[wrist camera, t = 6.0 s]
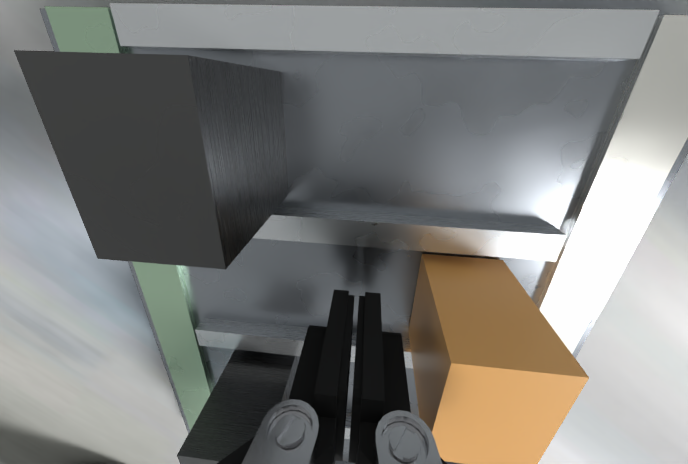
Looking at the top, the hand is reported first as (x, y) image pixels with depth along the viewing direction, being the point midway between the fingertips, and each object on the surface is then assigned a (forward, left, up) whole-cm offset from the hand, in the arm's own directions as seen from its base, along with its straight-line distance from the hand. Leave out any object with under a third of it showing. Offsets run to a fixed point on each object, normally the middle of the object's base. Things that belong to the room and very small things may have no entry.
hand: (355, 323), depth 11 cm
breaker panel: (0, +3, -4) cm, 5 cm away
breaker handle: (-4, 0, -2) cm, 4 cm away
